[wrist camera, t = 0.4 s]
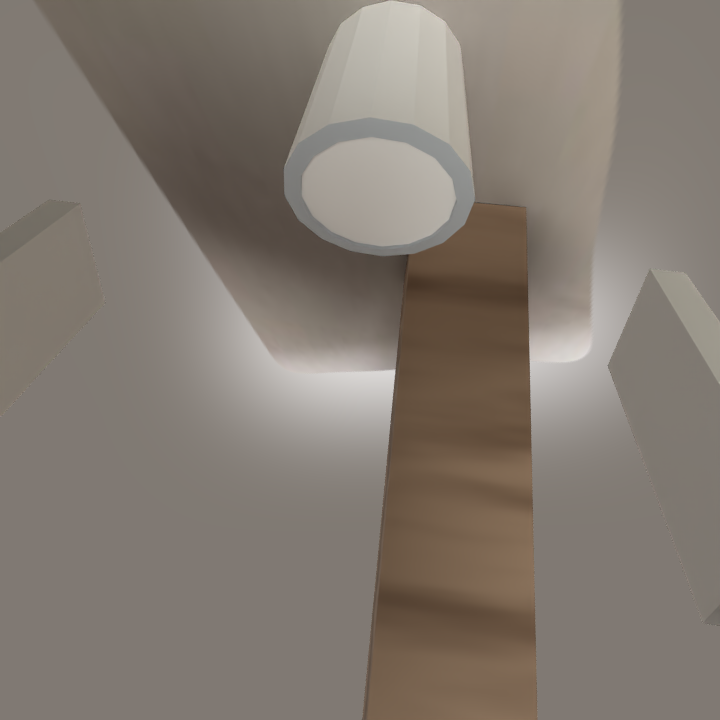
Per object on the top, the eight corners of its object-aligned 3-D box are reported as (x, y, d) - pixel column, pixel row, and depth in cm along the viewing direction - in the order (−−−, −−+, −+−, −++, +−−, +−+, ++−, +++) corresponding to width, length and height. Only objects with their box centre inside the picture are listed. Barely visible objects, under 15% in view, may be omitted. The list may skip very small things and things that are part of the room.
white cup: (324, 136, 26) (301, 256, 23) (297, -15, 20) (260, 119, 17) (471, 137, 26) (467, 262, 22) (489, -21, 19) (485, 120, 16)
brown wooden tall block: (415, 197, 29) (346, 939, 17) (526, 207, 29) (542, 969, 16) (403, 283, 36) (350, 846, 24) (492, 291, 36) (486, 866, 24)
